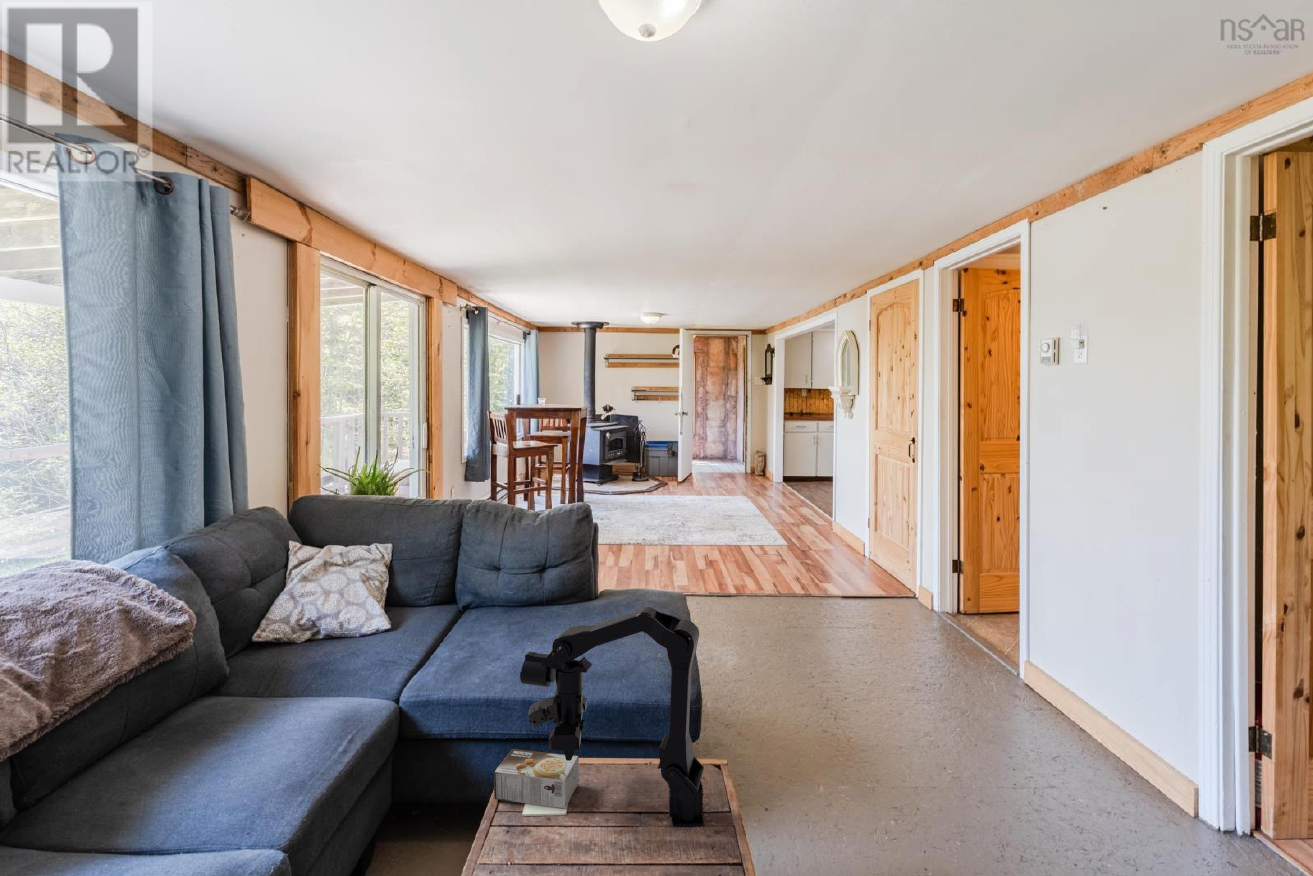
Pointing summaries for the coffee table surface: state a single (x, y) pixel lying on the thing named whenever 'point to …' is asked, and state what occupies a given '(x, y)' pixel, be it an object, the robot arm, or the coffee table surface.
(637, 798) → the coffee table surface
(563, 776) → the coffee box
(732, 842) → the coffee table surface
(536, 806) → the pad
